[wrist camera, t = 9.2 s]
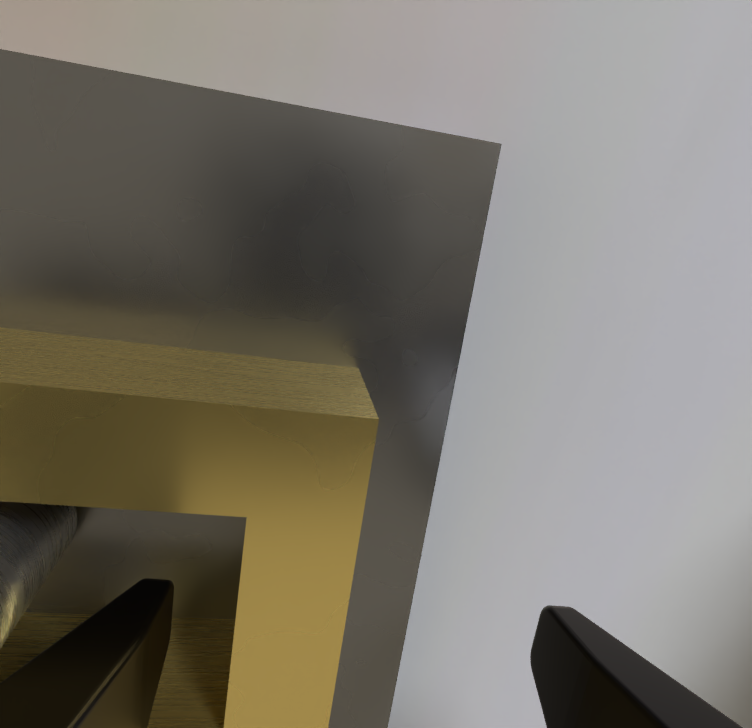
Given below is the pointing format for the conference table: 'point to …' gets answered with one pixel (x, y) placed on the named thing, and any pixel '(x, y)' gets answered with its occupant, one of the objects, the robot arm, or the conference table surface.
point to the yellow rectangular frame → (204, 502)
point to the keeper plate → (238, 312)
